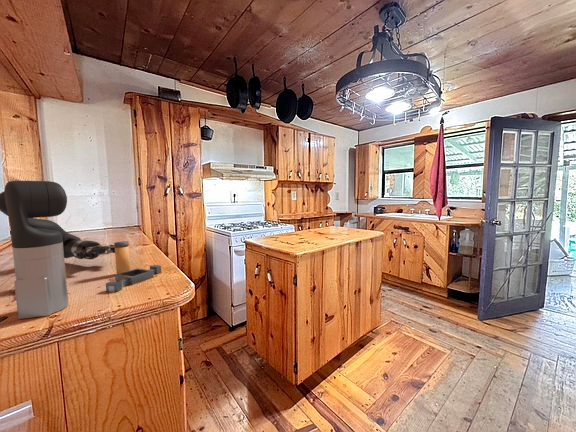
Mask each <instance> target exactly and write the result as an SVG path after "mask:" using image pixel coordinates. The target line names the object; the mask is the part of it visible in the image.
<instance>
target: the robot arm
mask: <svg viewBox="0 0 576 432" xmlns="http://www.w3.org/2000/svg"><path fill="white" fill-rule="evenodd" d="M62 186H63V185H61V184H59V183H57V182H55V181H50V180H10V181H8V182H7V183H6V184H5V186H4V191H2V192H0V212H1V213H3V214H4V215H6V216H7V217H8V220H9V221H8V222H9V227H10V236H11V246H12V249H11V250H12V256H13V264H14V265H13V266H14V275H15V280H14V292H15V300H16V301H15V302H16V308H17V309H16V310H17V316H18V317H17V318H18V320H21V319H30V318H32V319H33V318H37V317H38V318H39V317H47V316H50V315H52V314H54V313H57V312H59V311H61V310H64V309H65V308H67V307H68V306H69V303H70V302H69V294H68V293H69V292H68V284H67V283H68V282H67V271H66V262H65V259H69V258H74V259H79V260H83V259H84V260H94V259H96V258H98V257H100V256H101V255H110V254H115V245H114V244H109V245H101V244H100V243H99V242H98V241H94V240H87V239H81V238H80V237H79V236H76V235H75V234H72V233H69V232H68V231H66V230H65V229H63V227H61V226H60V225H59V224H58V223H56V222H55V221H53V220H48V219H42V218H50V217H52V218H53V217H58V216H60V215H62V214H63V213H64V212H65V210H66V208H67V205H68V196H67V194H66V191H65V189H64V188H63V187H62Z"/></svg>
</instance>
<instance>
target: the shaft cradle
mask: <svg viewBox="0 0 576 432" xmlns="http://www.w3.org/2000/svg"><path fill="white" fill-rule="evenodd" d="M161 272H162V265H158V264H153V265H150V266H149V269H144V268H133V269H130V271H127V272H123V273H120V274H117V273H116V274H115V275H114V278H115V280H111V281H108V282H106V283H105V292H106V293H117V292H118V293H119V292H120V291H122V290H123V288H125V287H127V286H129V285H130V286H133V285H136V284H139V283H142V282H145V281H148V280H150V279H154V278H155V275H158V274H161Z"/></svg>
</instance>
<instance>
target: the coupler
mask: <svg viewBox="0 0 576 432" xmlns="http://www.w3.org/2000/svg"><path fill="white" fill-rule="evenodd" d="M129 244H130V243H129V241H128V240H127V241H125V240H124V241H115V242H114V244H113V245H115V253H114V257H115V269H116V275H117V274H120V273H123V272H127V271H130V270H131V261H130V260H131V259H130V246H129Z"/></svg>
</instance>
